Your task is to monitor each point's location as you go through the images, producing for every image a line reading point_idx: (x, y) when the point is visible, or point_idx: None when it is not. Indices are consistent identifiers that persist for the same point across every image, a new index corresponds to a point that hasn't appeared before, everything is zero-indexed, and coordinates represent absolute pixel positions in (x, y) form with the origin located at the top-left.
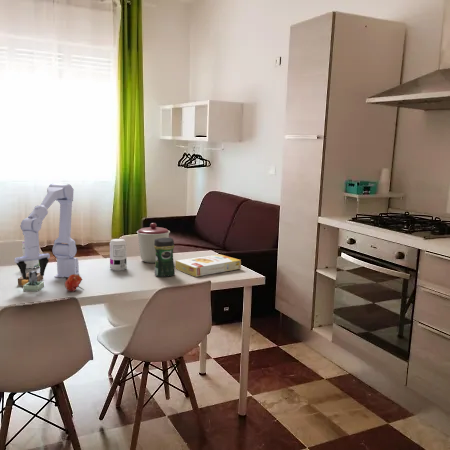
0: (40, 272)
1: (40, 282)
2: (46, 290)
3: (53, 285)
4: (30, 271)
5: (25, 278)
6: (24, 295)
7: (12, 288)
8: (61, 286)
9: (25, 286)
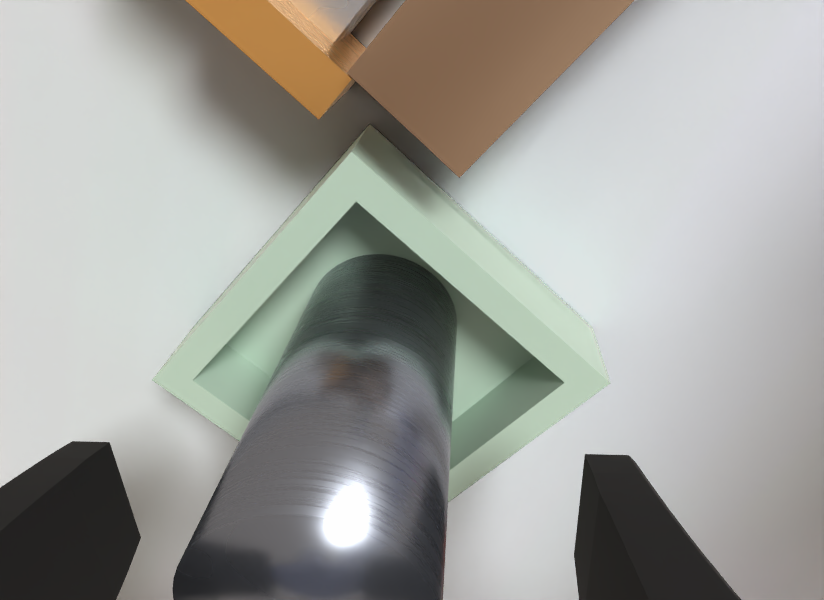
0: (599, 528)
1: (539, 360)
2: (506, 531)
3: (768, 363)
4: (238, 582)
5: (121, 546)
6: (163, 544)
7: (14, 48)
8: (818, 495)
9: (198, 397)
